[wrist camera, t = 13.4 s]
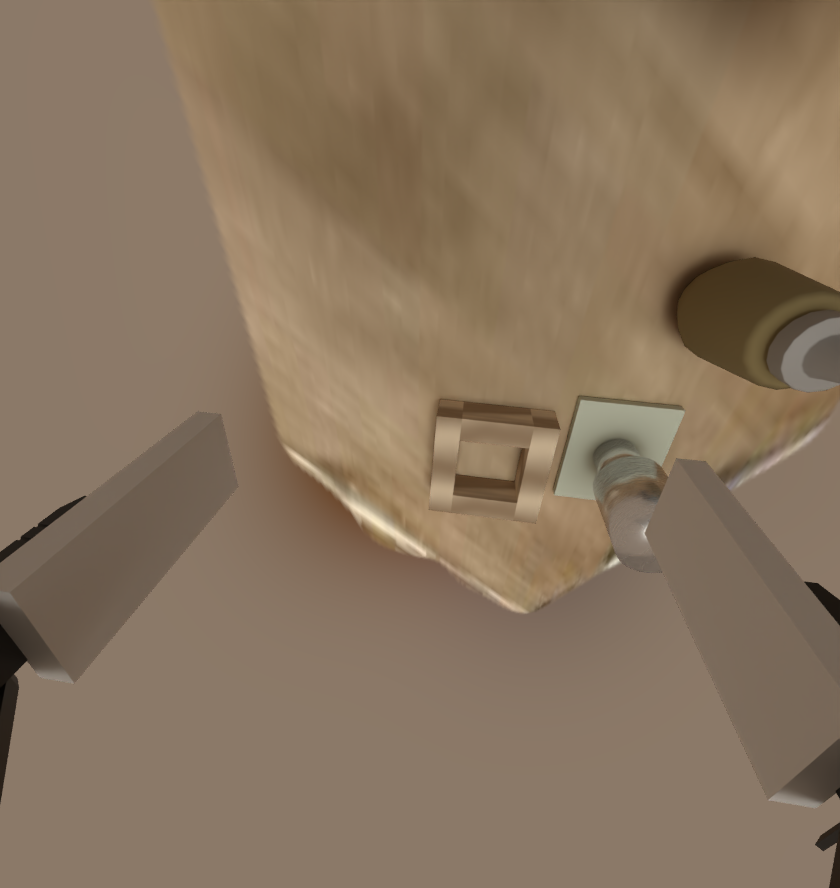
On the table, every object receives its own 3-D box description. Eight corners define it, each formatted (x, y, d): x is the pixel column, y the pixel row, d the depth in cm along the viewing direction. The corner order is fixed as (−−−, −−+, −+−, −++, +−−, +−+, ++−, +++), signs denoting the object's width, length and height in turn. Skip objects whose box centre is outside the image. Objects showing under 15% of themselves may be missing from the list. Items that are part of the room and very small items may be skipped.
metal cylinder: (591, 426, 43) (629, 507, 32) (657, 433, 42) (718, 518, 31) (575, 477, 46) (604, 567, 35) (636, 484, 46) (685, 577, 35)
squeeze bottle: (656, 274, 36) (783, 333, 21) (765, 235, 34) (1000, 269, 18) (668, 359, 40) (784, 463, 24) (767, 329, 37) (966, 424, 22)
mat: (578, 395, 43) (581, 399, 42) (681, 406, 42) (685, 410, 41) (552, 489, 49) (554, 495, 48) (641, 500, 48) (644, 506, 47)
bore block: (440, 399, 45) (436, 416, 41) (554, 411, 44) (560, 429, 40) (432, 488, 51) (428, 510, 48) (532, 501, 50) (535, 523, 47)
